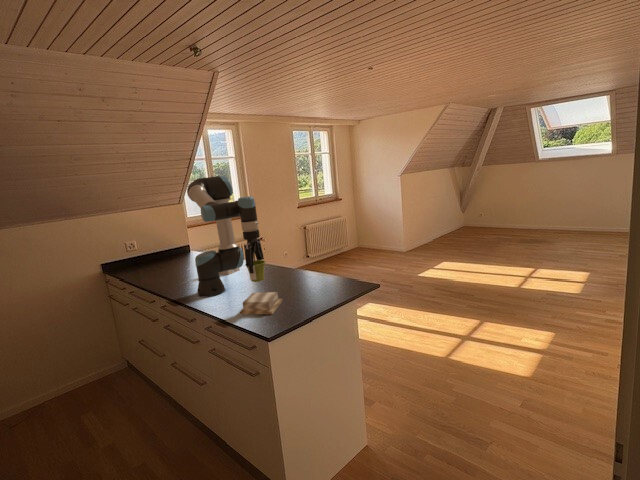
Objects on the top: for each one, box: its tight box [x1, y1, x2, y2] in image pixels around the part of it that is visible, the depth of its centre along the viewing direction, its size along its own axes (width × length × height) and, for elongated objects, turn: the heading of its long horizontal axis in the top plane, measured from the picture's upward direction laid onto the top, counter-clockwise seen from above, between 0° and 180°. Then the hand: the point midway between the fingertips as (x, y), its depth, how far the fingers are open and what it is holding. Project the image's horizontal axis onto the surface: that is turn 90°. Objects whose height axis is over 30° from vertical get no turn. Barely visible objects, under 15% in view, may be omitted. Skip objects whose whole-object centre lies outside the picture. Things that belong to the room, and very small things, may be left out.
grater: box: [217, 244, 240, 276], centre depth 247 cm, size 10×10×20 cm
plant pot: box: [245, 259, 266, 283], centre depth 173 cm, size 9×9×9 cm
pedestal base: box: [239, 291, 283, 315], centre depth 176 cm, size 16×16×6 cm
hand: (257, 276), depth 173 cm, fingers closed on plant pot, 9 cm apart
